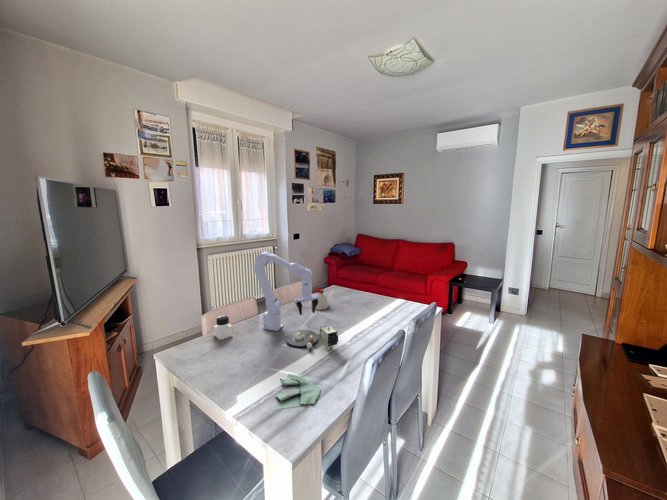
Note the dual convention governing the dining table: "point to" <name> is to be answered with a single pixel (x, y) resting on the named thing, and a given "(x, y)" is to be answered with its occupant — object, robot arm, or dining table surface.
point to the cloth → (298, 393)
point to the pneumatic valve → (328, 337)
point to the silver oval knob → (309, 346)
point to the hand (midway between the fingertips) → (307, 313)
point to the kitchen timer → (321, 302)
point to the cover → (299, 336)
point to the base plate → (303, 347)
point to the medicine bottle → (223, 328)
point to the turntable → (308, 337)
